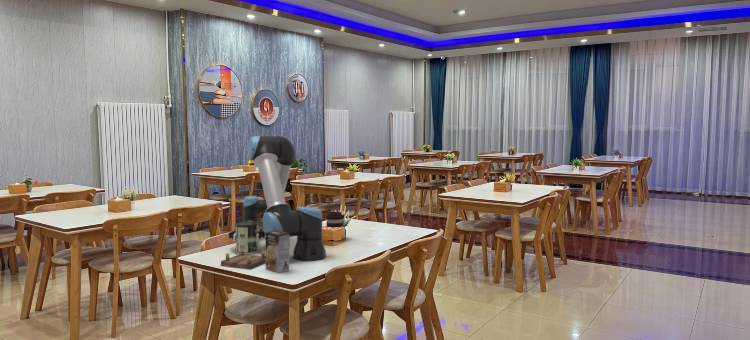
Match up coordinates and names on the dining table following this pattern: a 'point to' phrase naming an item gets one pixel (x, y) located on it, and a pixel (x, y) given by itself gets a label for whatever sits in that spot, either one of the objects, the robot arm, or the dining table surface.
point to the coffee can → (246, 237)
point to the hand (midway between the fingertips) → (245, 238)
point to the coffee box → (277, 251)
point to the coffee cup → (334, 219)
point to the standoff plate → (244, 260)
